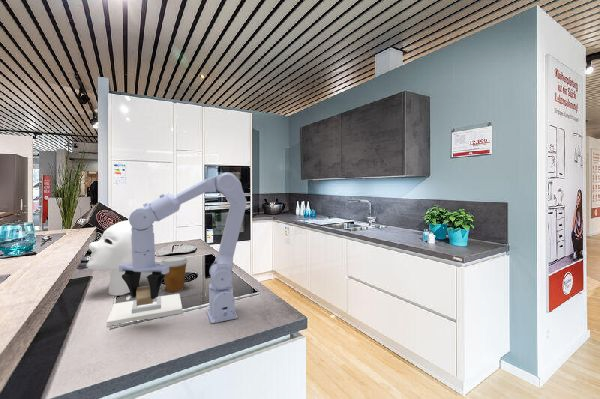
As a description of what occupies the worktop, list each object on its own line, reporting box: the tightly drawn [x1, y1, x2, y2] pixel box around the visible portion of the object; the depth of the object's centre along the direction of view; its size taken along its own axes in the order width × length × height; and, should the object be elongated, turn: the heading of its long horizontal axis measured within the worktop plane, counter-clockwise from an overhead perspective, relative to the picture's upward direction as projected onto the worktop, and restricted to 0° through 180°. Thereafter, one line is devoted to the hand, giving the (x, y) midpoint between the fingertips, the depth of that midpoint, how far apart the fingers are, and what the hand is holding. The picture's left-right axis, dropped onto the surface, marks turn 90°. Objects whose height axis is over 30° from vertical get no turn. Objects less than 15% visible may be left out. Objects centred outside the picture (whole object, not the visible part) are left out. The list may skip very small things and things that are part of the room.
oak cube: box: [135, 284, 153, 306], centre depth 83 cm, size 4×4×4 cm
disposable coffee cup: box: [160, 255, 188, 293], centre depth 112 cm, size 10×10×12 cm
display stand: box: [106, 293, 183, 328], centre depth 93 cm, size 14×20×3 cm
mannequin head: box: [86, 219, 142, 297], centre depth 110 cm, size 18×23×28 cm
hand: (145, 297), depth 83 cm, fingers closed on oak cube, 6 cm apart
